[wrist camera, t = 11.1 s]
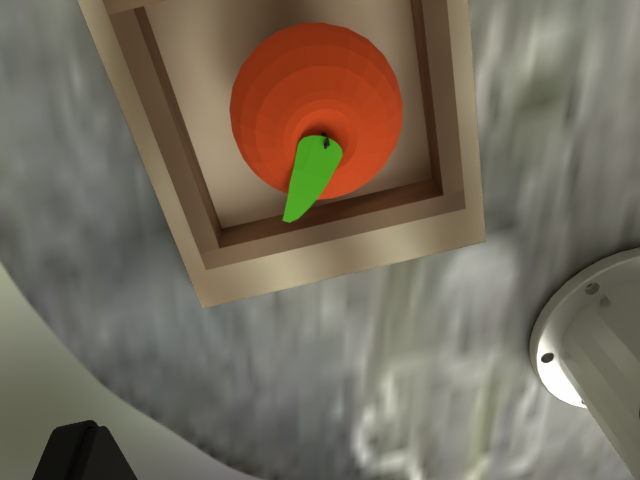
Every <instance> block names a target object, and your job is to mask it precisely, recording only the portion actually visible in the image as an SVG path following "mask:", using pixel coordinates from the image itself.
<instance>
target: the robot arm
mask: <svg viewBox="0 0 640 480" xmlns="http://www.w3.org/2000/svg"><path fill="white" fill-rule="evenodd" d="M530 359H531V363H532V367H533V369H534V371H535V373H536V375H537V376H538V378H539V380H540V382H541V383H542V384H543V386H544V387H545V388H546V390H547V391H548V392H549V393H551V394H552V395H553V396H554V397H556V398H557V399H559V400H561V401H563V402H565V403H568V404H570V405H573V406H577V407H582V408H587V409H588V410H589V411H590V413H591V414H592V416H593V417H594V419H595V420H596V422H597V423H598V425H599V426H600V428H601V429H602V431H603V432H604V434H605V435H606V437H607V438H608V439H609V441H610V442H611V444H612V445H613V447H614V448H615V450H616V451H617V453H618V454H619V456H620V457H621V459H622V460H623V462H624V463H625V464H626V466H627V467H628V469H629V470H630V472H631V473H632V475H633V476H634V478H635V479H636V480H640V247H639V248H635V249H631V250H626V251H622V252H619V253H617V254H614V255H611V256H609V257H606V258H604V259H601V260H599V261H598V262H596V263H594V264H592V265H590V266H589V267H587V268H585V269H583V270H582V271H581V272H579V273H578V274H577V275H575V276H574V277H573V278H571V279H570V280H569V281H567V282H566V283H565V284H564V285H563V286H562V287H561V288H560V289H559V290H558V291H557V292H556V293H555V294H554V295H553V296H552V297H551V299H550V300H549V301H548V303H547V304H546V305H545V307H544V308H543V310H542V311H541V313H540V315H539V317H538V319H537V321H536V323H535V325H534V328H533V331H532V335H531V339H530ZM32 480H137V478H136V476H135V474H134V473H133V471H132V469H131V467H130V466H129V464H128V462H127V461H126V459H125V457H124V455H123V454H122V452H121V450H120V448H119V447H118V445H117V443H116V442H115V440H114V438H113V436H112V435H111V433H110V431H109V430H108V428H107V427H105V426H101V427H99V426H98V425H97V424H96V422H94V421H93V420H87V421H83V422H78V423H74V424H69V425H65V426H60V427H57V428H56V429H54V430H53V432H52V434H51V435H50V438H49V440H48V443H47V445H46V447H45V450H44V452H43V455H42V457H41V460H40V462H39V464H38V467H37V469H36V472H35V474H34V477H33V479H32Z"/></svg>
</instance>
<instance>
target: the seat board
mask: <svg viewBox="0 0 640 480" xmlns="http://www.w3.org/2000/svg"><path fill="white" fill-rule="evenodd" d="M77 1H78V3H79V5H80V8H81V10H82V13H83V15H84V18H85V20H86V23H87V25H88V28H89V30H90V33H91V35H92V38H93V40H94V42H95V45H96V47H97V50H98V52H99V55H100V57H101V60H102V62H103V65H104V67H105V70H106V72H107V75H108V77H109V79H110V82H111V84H112V87H113V89H114V92H115V94H116V97H117V99H118V102H119V104H120V107H121V109H122V112H123V114H124V116H125V119H126V121H127V124H128V126H129V129H130V131H131V134H132V136H133V139H134V141H135V144H136V146H137V149H138V151H139V153H140V156H141V158H142V161H143V163H144V166H145V168H146V171H147V173H148V176H149V178H150V181H151V183H152V186H153V188H154V190H155V193H156V195H157V198H158V200H159V203H160V205H161V208H162V210H163V213H164V215H165V218H166V220H167V223H168V225H169V227H170V230H171V232H172V235H173V237H174V240H175V242H176V245H177V247H178V250H179V252H180V255H181V257H182V260H183V262H184V264H185V267H186V269H187V272H188V274H189V277H190V279H191V282H192V284H193V287H194V289H195V292H196V294H197V297H198V299H199V301H200V304H201V306H202V308H206V307H211V306H215V305H219V304H223V303H228V302H232V301H236V300H240V299H245V298H249V297H253V296H257V295H262V294H266V293H270V292H274V291H279V290H283V289H287V288H291V287H296V286H300V285H304V284H308V283H313V282H317V281H321V280H325V279H330V278H334V277H338V276H342V275H347V274H351V273H355V272H359V271H364V270H368V269H372V268H376V267H381V266H385V265H389V264H393V263H398V262H402V261H406V260H410V259H415V258H419V257H423V256H427V255H432V254H436V253H440V252H444V251H449V250H453V249H457V248H462V247H466V246H470V245H474V244H479V243H483V242H486V235H485V221H484V208H483V194H482V180H481V167H480V153H479V139H478V125H477V112H476V98H475V84H474V71H473V57H472V43H471V29H470V16H469V2H468V0H77ZM319 22H322V23H327V24H332V25H336V26H341V27H346V28H348V29H350V30H352V31H354V32H356V33H358V34H359V35H361V36H363V37H365V38H367V39H368V40H369V41H370V42H371V43H372V44H373V45H374V46H375V47H376V48H378V49H379V50H380V51H381V52H382V53H383V54H384V56H385V57H386V59H387V61H388V63H389V64H390V66H391V68H392V70H393V71H394V73H395V75H396V78H397V81H398V85H399V89H400V94H401V98H402V102H403V118H402V128H401V131H400V135H399V138H398V141H397V145H396V147H395V149H394V150H393V152H392V154H391V155H390V157H389V159H388V160H387V162H386V164H385V165H384V167H383V168H382V169H381V170H380V171H379V172H378V173H377V174H376V175H375V176H374V177H373V178H372V179H371V180H370V181H369V182H368V183H366V184H364V185H363V186H361V187H360V188H358V189H356V190H355V191H353V192H351V193H348V194H345V195H342V196H339V197H336V198H331V199H319V200H316V201H315V202H314V203H313V204H312V205H311V206H310V208H309V209H308V210H307V211H306V212H305V213H304V214H303V215H302V216H301V217H299V218H298V219H296V220H294V221H292V222H290V223H289V222H285V221H282V219H283V216H284V212H285V207H286V202H287V198H288V194H287V193H284V192H282V191H279V190H277V189H275V188H272V187H271V186H270V185H268V184H267V183H266V182H264V181H263V180H262V179H260V178H259V177H258V176H256V175H255V173H254V172H253V171H252V170H251V168H250V167H249V166H248V164H247V163H246V162H245V161H244V159H243V158H242V155H241V153H240V151H239V148H238V146H237V144H236V141H235V139H234V136H233V133H232V126H231V119H230V111H229V108H230V101H231V93H232V87H233V84H234V82H235V80H236V77H237V75H238V73H239V70H240V68H241V66H242V64H243V63H244V62H245V61H246V59H247V58H248V57H249V56H250V55H251V53H252V52H253V51H254V50H255V48H256V47H257V46H258V45H259V44H260V43H262V42H263V41H265V40H266V39H267V38H269V37H270V36H272V35H273V34H274V33H276V32H277V31H280V30H283V29H286V28H288V27H291V26H294V25H297V24H304V23H319Z"/></svg>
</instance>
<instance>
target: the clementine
mask: <svg viewBox="0 0 640 480" xmlns="http://www.w3.org/2000/svg"><path fill="white" fill-rule="evenodd" d="M229 111H230V119H231V126H232V133H233V136H234V139H235V141H236V144H237V146H238V148H239V151H240V153H241V155H242V158H243V159H244V161H245V162H246V163H247V164H248V166H249V167H250V168H251V170H252V171H253V172H254V173H255V175H256V176H258V177H259V178H260V179H262V180H263V181H264V182H266V183H267V184H268V185H270V186H271V187H272V188H275V189H277V190H279V191H282V192H284V193H287V194H288V198H287V202H286V207H285V212H284V216H283V219H282V221H285V222H289V223H290V222H292V221H294V220H296V219H298V218H299V217H301V216H302V215H303V214H304V213H305V212H306V211H307V210H308V209H309V208H310V206H311V205H312V204H313V203H314V202H315V201H316V200H319V199H331V198H336V197H339V196H342V195H345V194H348V193H351V192H353V191H355V190H356V189H358V188H360V187H361V186H363V185H364V184H366V183H368V182H369V181H370V180H371V179H372V178H373V177H374V176H375V175H376V174H377V173H378V172H379V171H380V170H381V169H382V168H383V167H384V165H385V164H386V162H387V160H388V159H389V157H390V155H391V154H392V152H393V150H394V149H395V147H396V145H397V141H398V138H399V135H400V131H401V128H402V118H403V102H402V98H401V94H400V89H399V85H398V81H397V78H396V75H395V73H394V71H393V70H392V68H391V66H390V64H389V63H388V61H387V59H386V57H385V56H384V54H383V53H382V52H381V51H380V50H379V49H378V48H376V47H375V46H374V45H373V44H372V43H371V42H370V41H369V40H368V39H367V38H365V37H363V36H361V35H359V34H358V33H356V32H354V31H352V30H350V29H348V28H346V27H341V26H336V25H332V24H327V23H322V22H319V23H304V24H297V25H294V26H291V27H288V28H286V29H283V30H280V31H277V32H276V33H274V34H273V35H272V36H270V37H269V38H267V39H266V40H265V41H263V42H262V43H260V44H259V45H258V46H257V47H256V48H255V50H254V51H253V52H252V53H251V55H250V56H249V57H248V58H247V59H246V61H245V62H244V63H243V64H242V66H241V68H240V70H239V73H238V75H237V77H236V80H235V82H234V84H233V87H232V93H231V101H230V108H229Z"/></svg>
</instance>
